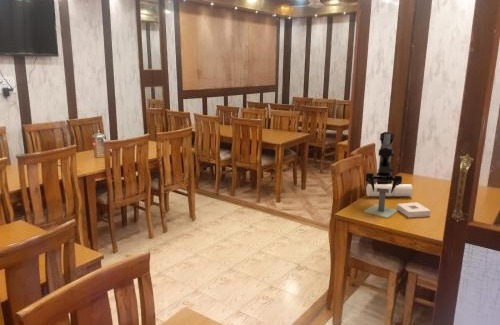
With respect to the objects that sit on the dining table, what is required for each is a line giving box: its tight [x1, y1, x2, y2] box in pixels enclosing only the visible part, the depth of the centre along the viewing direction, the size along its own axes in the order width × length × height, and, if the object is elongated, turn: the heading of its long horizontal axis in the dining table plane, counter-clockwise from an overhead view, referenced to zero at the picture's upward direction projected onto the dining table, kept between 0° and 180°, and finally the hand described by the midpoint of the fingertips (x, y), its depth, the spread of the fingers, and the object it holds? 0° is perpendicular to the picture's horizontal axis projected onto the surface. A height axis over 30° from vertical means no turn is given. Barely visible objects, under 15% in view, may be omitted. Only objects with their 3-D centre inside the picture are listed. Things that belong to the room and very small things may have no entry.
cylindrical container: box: [365, 183, 414, 197], centre depth 229 cm, size 7×7×25 cm
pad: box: [363, 204, 399, 219], centre depth 206 cm, size 13×13×1 cm
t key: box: [377, 188, 389, 212], centre depth 204 cm, size 3×6×12 cm, turn 71°
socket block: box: [395, 202, 431, 219], centre depth 204 cm, size 12×12×3 cm
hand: (382, 192), depth 210 cm, fingers open, 9 cm apart
